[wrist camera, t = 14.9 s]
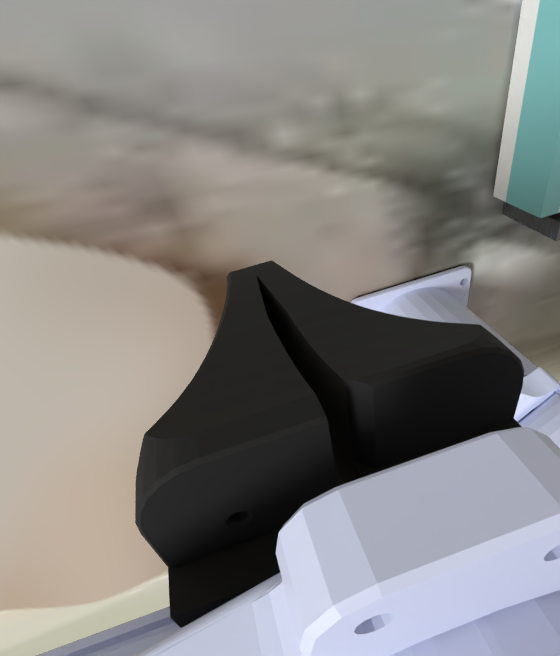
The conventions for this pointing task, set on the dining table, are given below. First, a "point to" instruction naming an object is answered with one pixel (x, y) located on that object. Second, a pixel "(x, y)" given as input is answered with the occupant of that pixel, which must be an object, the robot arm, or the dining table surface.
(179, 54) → the dining table surface
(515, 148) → the tray
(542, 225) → the dock
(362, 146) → the dining table surface
